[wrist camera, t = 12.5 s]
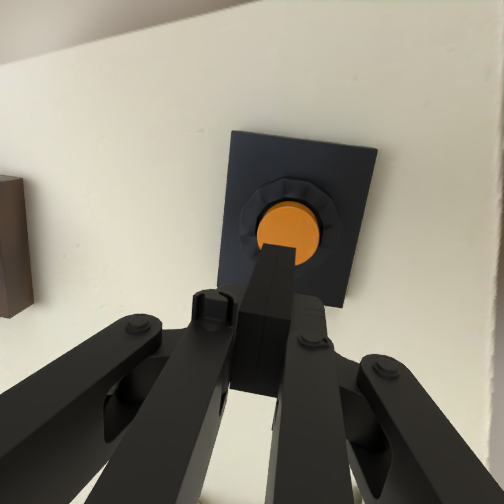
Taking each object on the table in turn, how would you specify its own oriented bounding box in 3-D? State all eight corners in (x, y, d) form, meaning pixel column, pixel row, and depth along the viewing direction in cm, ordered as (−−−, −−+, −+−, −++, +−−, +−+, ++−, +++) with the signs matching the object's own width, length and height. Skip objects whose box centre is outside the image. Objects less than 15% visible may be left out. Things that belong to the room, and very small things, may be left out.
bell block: (237, 130, 27) (225, 130, 23) (372, 147, 26) (383, 150, 22) (222, 277, 31) (210, 297, 27) (340, 296, 30) (344, 320, 26)
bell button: (264, 196, 25) (260, 202, 23) (323, 205, 24) (324, 211, 22) (257, 252, 26) (253, 261, 24) (312, 260, 26) (313, 271, 24)
